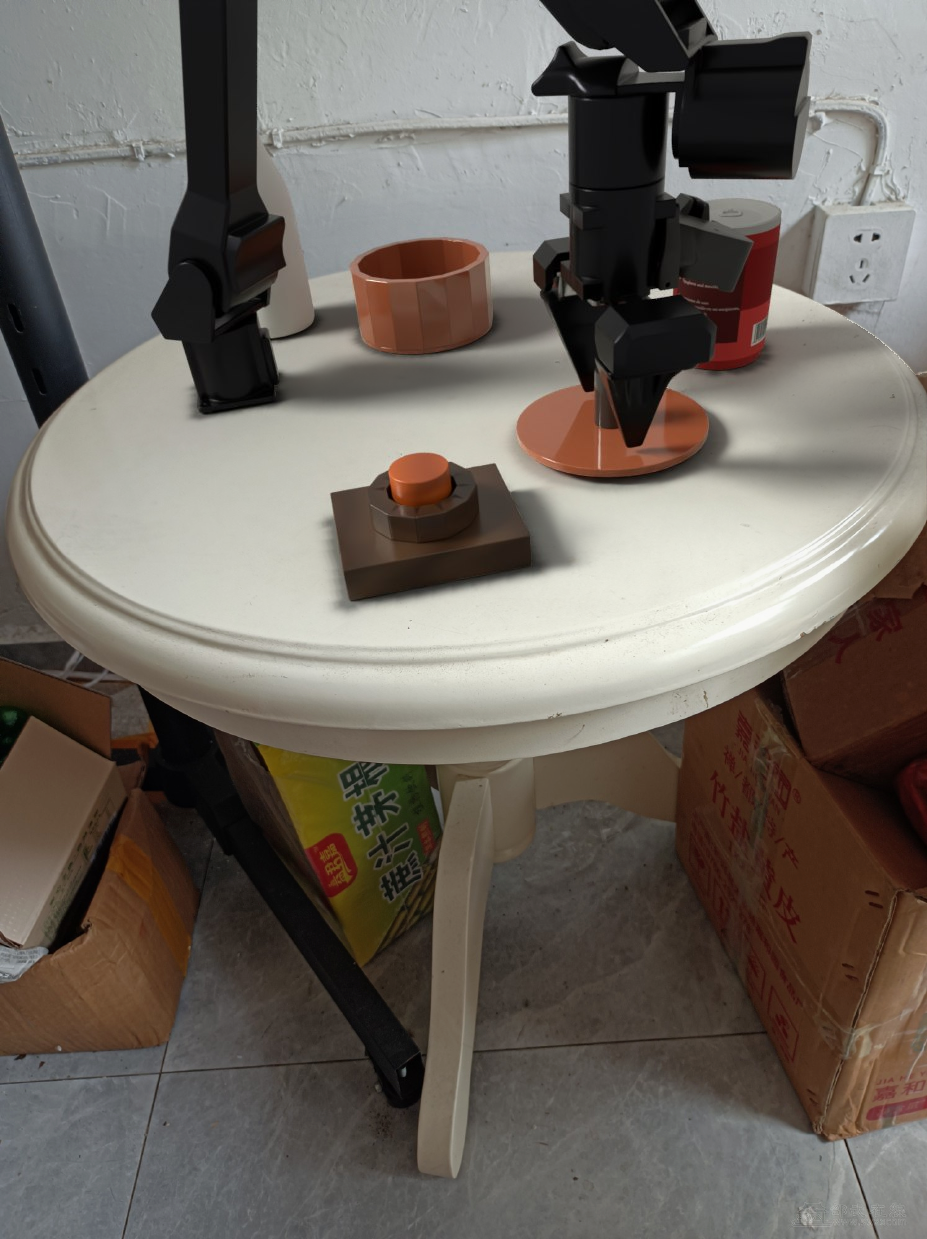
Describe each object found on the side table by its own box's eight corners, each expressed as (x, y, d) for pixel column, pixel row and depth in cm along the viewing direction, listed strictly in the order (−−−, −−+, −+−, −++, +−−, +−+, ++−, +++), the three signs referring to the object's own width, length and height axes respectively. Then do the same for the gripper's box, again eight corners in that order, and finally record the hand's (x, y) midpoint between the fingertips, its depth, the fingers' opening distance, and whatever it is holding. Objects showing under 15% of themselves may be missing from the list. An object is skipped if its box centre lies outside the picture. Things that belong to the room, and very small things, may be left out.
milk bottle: (324, 329, 84) (278, 93, 72) (246, 347, 83) (185, 108, 70) (306, 306, 90) (260, 83, 77) (233, 322, 88) (174, 97, 76)
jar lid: (545, 500, 57) (543, 428, 53) (498, 413, 67) (493, 348, 64) (740, 464, 58) (750, 391, 55) (664, 384, 68) (668, 319, 65)
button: (396, 513, 50) (392, 487, 49) (388, 483, 53) (384, 458, 52) (457, 502, 51) (454, 476, 50) (445, 472, 53) (442, 447, 52)
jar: (369, 363, 77) (357, 290, 73) (354, 315, 87) (343, 249, 83) (506, 340, 78) (502, 268, 74) (476, 296, 88) (471, 230, 84)
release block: (349, 601, 50) (336, 544, 48) (335, 520, 57) (324, 467, 54) (532, 565, 51) (529, 508, 49) (497, 491, 58) (493, 437, 56)
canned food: (747, 329, 75) (764, 193, 68) (776, 366, 69) (798, 221, 62) (659, 338, 75) (667, 203, 69) (680, 376, 69) (691, 232, 62)
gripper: (822, 194, 45) (780, 458, 55) (682, 132, 60) (668, 350, 70) (620, 225, 44) (613, 489, 54) (526, 155, 59) (535, 373, 68)
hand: (611, 417), depth 62 cm, fingers open, 9 cm apart
